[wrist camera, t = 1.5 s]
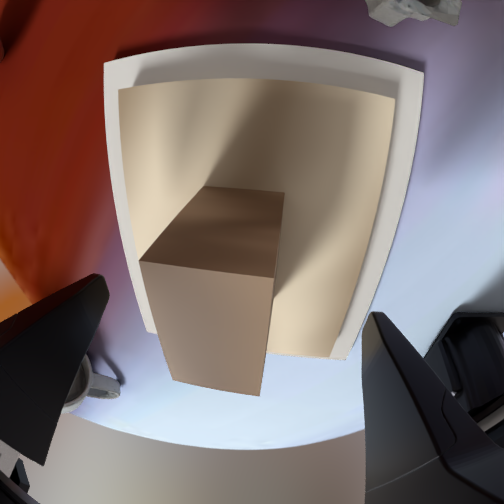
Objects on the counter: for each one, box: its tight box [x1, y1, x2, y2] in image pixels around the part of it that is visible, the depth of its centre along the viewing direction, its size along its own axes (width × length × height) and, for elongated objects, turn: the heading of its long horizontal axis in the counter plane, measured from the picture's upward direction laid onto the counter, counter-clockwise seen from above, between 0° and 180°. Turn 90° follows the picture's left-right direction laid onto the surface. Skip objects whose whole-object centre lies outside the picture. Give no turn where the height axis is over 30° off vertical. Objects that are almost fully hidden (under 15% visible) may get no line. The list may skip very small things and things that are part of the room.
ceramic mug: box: [61, 354, 120, 413], centre depth 21 cm, size 11×8×8 cm
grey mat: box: [104, 44, 424, 360], centre depth 12 cm, size 13×16×1 cm
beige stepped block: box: [118, 78, 395, 396], centre depth 10 cm, size 10×13×6 cm
